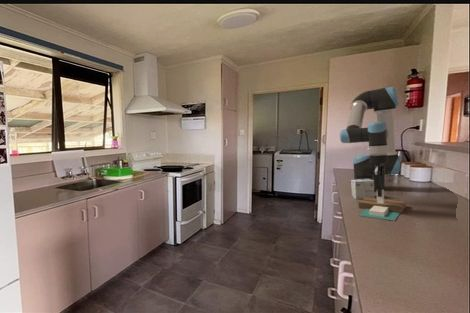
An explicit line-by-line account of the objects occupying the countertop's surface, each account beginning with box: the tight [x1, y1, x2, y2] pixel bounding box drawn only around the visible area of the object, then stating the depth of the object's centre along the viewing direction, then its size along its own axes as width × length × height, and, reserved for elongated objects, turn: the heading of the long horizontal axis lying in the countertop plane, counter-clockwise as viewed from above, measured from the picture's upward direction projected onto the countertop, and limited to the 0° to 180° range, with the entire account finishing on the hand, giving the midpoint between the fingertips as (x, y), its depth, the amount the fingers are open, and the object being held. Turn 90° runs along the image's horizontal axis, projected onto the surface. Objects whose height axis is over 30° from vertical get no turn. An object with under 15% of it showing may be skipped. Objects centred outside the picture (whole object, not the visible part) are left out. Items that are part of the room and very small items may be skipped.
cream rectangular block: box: [369, 206, 389, 217], centre depth 109 cm, size 9×6×2 cm, turn 136°
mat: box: [358, 209, 401, 222], centre depth 108 cm, size 12×14×1 cm
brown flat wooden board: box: [358, 197, 407, 214], centre depth 117 cm, size 12×18×3 cm, turn 46°
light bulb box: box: [350, 179, 376, 200], centre depth 138 cm, size 11×7×11 cm, turn 84°
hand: (380, 202), depth 112 cm, fingers closed
